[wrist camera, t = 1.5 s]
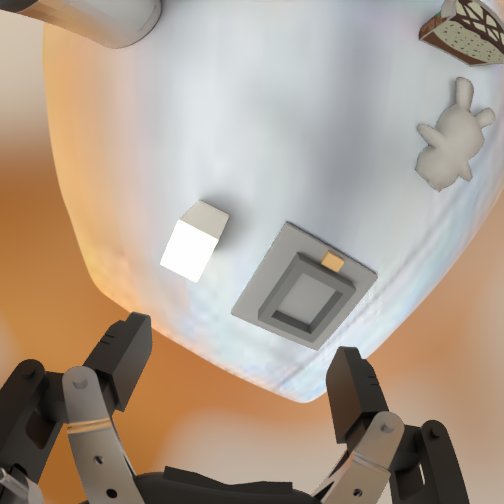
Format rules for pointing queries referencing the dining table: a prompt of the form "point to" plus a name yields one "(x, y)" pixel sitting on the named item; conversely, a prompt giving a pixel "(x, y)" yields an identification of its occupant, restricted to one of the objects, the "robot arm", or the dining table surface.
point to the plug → (194, 240)
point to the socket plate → (303, 289)
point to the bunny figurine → (453, 140)
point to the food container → (466, 32)
